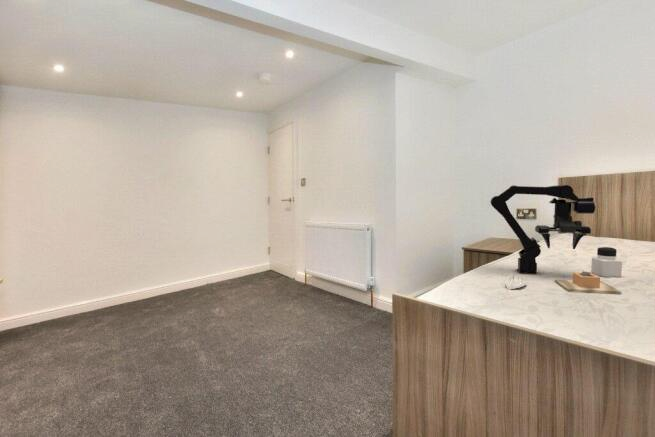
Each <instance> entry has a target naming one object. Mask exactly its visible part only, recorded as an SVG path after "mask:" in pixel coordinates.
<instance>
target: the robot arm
mask: <svg viewBox="0 0 655 437" xmlns="http://www.w3.org/2000/svg"><path fill="white" fill-rule="evenodd" d="M515 195H536V196H549V197H553V198H552V199H551V200H550V201H549V202H548V203H549V204H554V211H553V212H554V214H553V218H554V219H553V225H552V227H551V226H549V225H543V224H542V225H541V224H540V225H538V224H537V225H536V226H535V228H534V230H535V233H538V234H539V235H541V236H542V238H543V240H544V242H545V245H546V247H547V249H550V248H551V242H550V236H551V233H549V232H561V233H562V234H563V233H564V234H567V233H572V249H573V250H575V249H576V248H577V245H578V244H579V242H580V240H581V239H582V238H583V237H584V236H587V234H588V235H590V234H592V228H591V227H590V226H586V225H582V224H583V222H582V221H581V220H574V221H573V216H572V212H574V213H575V214H578V215H580V214H581V215H582V214H583V215H584V214H585V215H586V214H587V215H589V214H595V211H596V204H595V200H594V197H586V198H585V197H580V198H579V197H578V196H577V195H576V194H575V193H574V188H573V187H572V186H571V185H569V184H558V185H550V186H529V185H528V186H526V185H525V186H524V185H522V186H520V185H514V184H513V185H511V186H509V187H508V188H507V189H505V190H504V191H503V192H502V193H500V194H499V195H495V196H492V197H491V199H490V205H491V206H492V207H493V208H494V209H495V210H496V212H497V213H499V214H500V215H501V217H503V219H504V220H505V221H506V223H507V224H508V226H509V227H510V228H511V230H512V232H513V233H514V234H515V236H516V237H517V238H518V240H519V242H520V244H521V246H522V249H521V250H519V251H518V255H519V257H518V258H517V268H516V271H518V272H519V274H531V275H532V274H533V275H535V274H538V272H537V271H538V263H537V261H536V260H537V259H536V258H537V257H539V256H540V255H541V253H542V250H541V247H542V246H541V245H540V244H539V243H538V241H537V240H536V238H535V237H531V238H530V237H529V236H528V235H527V233H526V232H525V230H524V229H523V228H522V227H521V225H520V224H519V222H518V221H517V219H516V218H515V217H514V215H513V214H512V213H511V211H510V209H509V207H508V204H507V201H509V200H511V198H512V197H514V196H515ZM557 198H560V199H557ZM566 200H568V201H566Z"/></svg>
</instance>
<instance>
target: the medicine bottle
mask: <svg viewBox="0 0 655 437" xmlns="http://www.w3.org/2000/svg"><path fill="white" fill-rule="evenodd" d="M617 251H618V250H617V249H616V248H614V247H610V246H600V247H597V253H596V254H597V255H596V256H592V257H591V270H590V273H592V274H594V275H596V276H598V277H600V278H601V277H605V278H606V277H607V278H621V277H622V264H623V261H622V260H621V259H620V260H619V259H618V258H617Z"/></svg>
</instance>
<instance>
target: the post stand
mask: <svg viewBox="0 0 655 437" xmlns="http://www.w3.org/2000/svg"><path fill="white" fill-rule="evenodd" d="M581 273H582V276H590V273H591V271H582V272H581ZM554 283H556V284H557V285H558V286H559V287H561V288H563V289H564V290H565V291H567V292H568V293H589V294H609V295H610V294H611V295H622V291H621V290H620V289H618V288H616V287H615V286H612V285H611V284H608V283H606V282H605V281H601V280H600V288H588V287H579V286H578V285H576V284H575V283H573V279H556V278H555V279H554Z"/></svg>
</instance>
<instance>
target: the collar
mask: <svg viewBox="0 0 655 437" xmlns="http://www.w3.org/2000/svg"><path fill="white" fill-rule="evenodd" d="M572 280H573V283H575V284H576V285H578V286H579V287H588V288H600V281H601V276H599V275H597V274H594V273H592V272H590V276H582V272H572Z"/></svg>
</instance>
